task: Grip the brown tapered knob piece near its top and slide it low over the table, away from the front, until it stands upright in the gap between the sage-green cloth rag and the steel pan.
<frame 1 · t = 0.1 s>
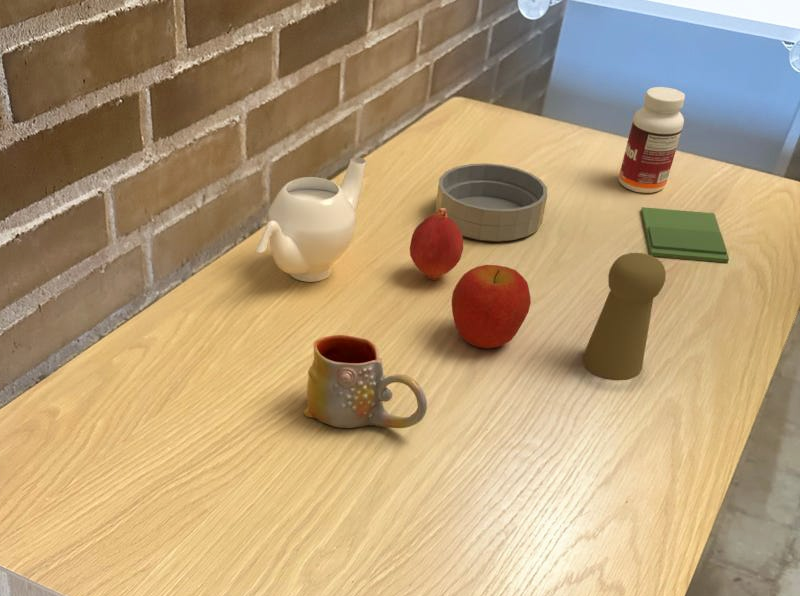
pan: (487, 219, 119), on the table
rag: (682, 236, 118), on the table
mug: (364, 422, 91), on the table
apple: (484, 342, 101), on the table
pill bottle: (640, 185, 128), on the table
brown tapered knob piece: (611, 364, 99), on the table
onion: (432, 280, 109), on the table
teapot: (310, 273, 109), on the table
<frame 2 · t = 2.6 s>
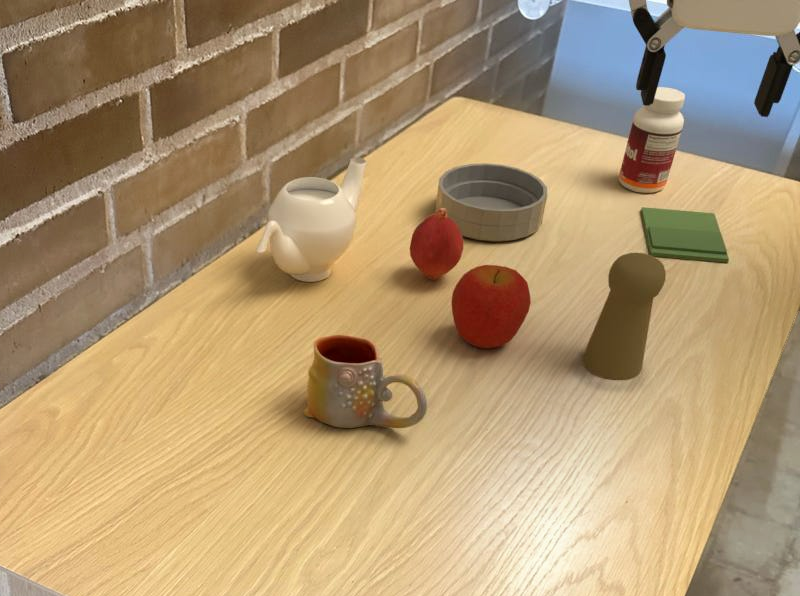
hand: (703, 105, 82), 24 cm above the table, tool pointing down, fingers open, 9 cm apart
nothing on the table moved.
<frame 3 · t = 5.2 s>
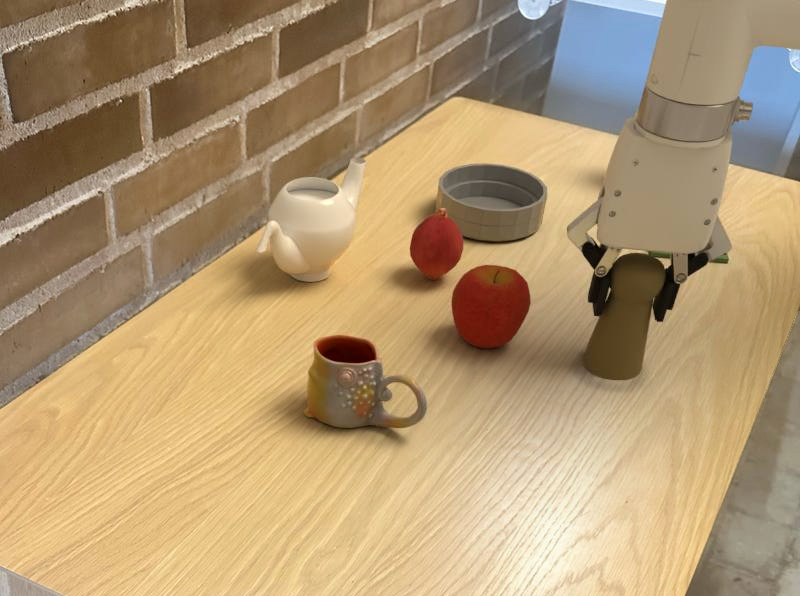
hand: (627, 310, 94), 6 cm above the table, tool pointing down, fingers closed on brown tapered knob piece, 5 cm apart
brown tapered knob piece: (611, 364, 99), on the table, touching gripper
everything else where it was.
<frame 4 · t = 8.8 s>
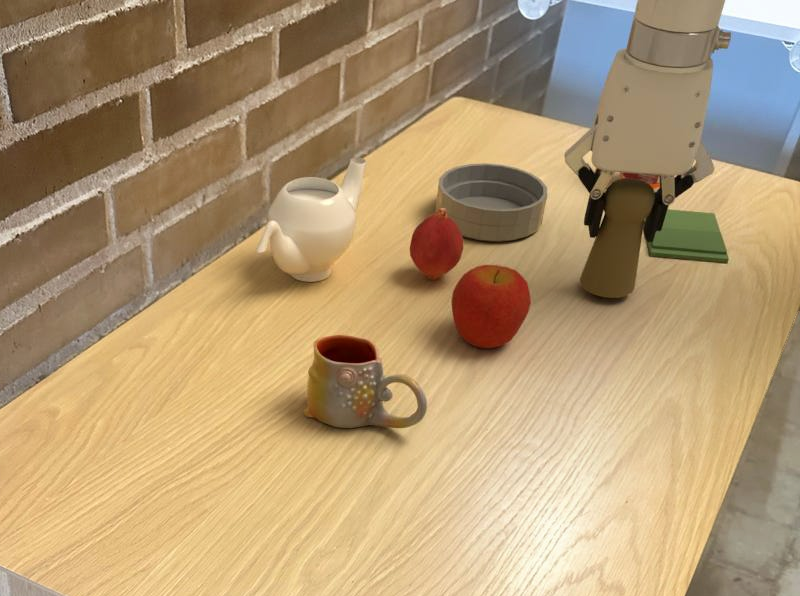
hand: (620, 232, 103), 7 cm above the table, tool pointing down, fingers closed on brown tapered knob piece, 5 cm apart
brown tapered knob piece: (606, 285, 108), point 1 cm above the table, touching gripper
everything else where it was.
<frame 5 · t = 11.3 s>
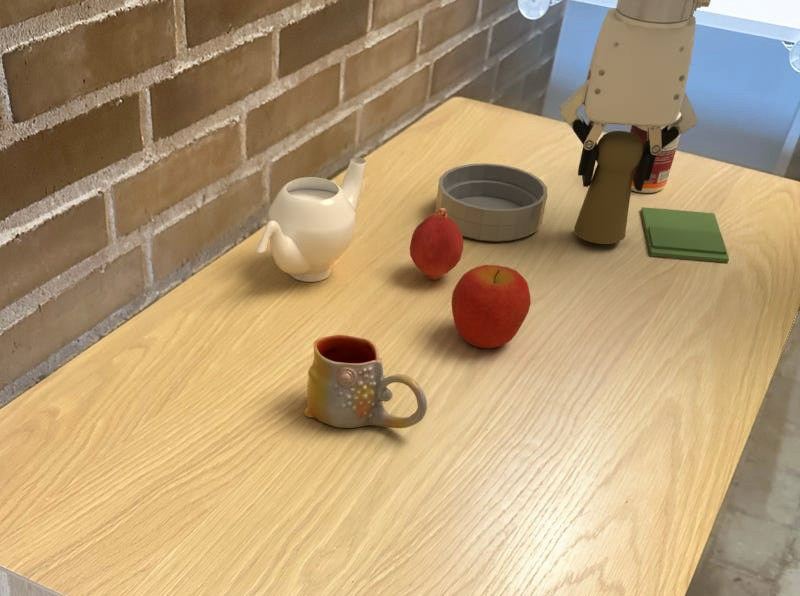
hand: (611, 182, 111), 7 cm above the table, tool pointing down, fingers closed on brown tapered knob piece, 5 cm apart
brown tapered knob piece: (599, 233, 116), point 1 cm above the table, touching gripper
everything else where it was.
when the fingers open (6 cm above the table, at t = 12.7 s): brown tapered knob piece stays where it is, on the table.
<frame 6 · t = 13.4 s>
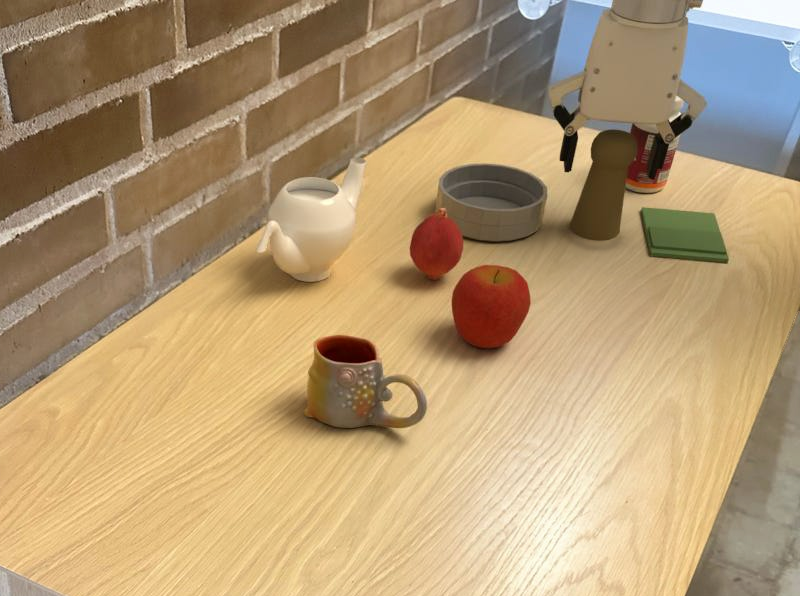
hand: (608, 171, 113), 7 cm above the table, tool pointing down, fingers open, 9 cm apart
brown tapered knob piece: (594, 229, 119), on the table
everything else where it was.
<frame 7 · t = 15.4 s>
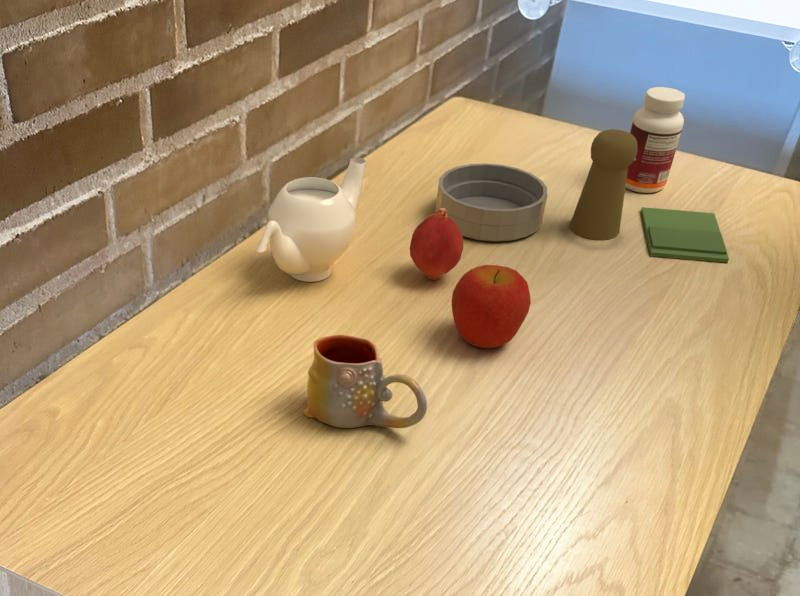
nothing on the table moved.
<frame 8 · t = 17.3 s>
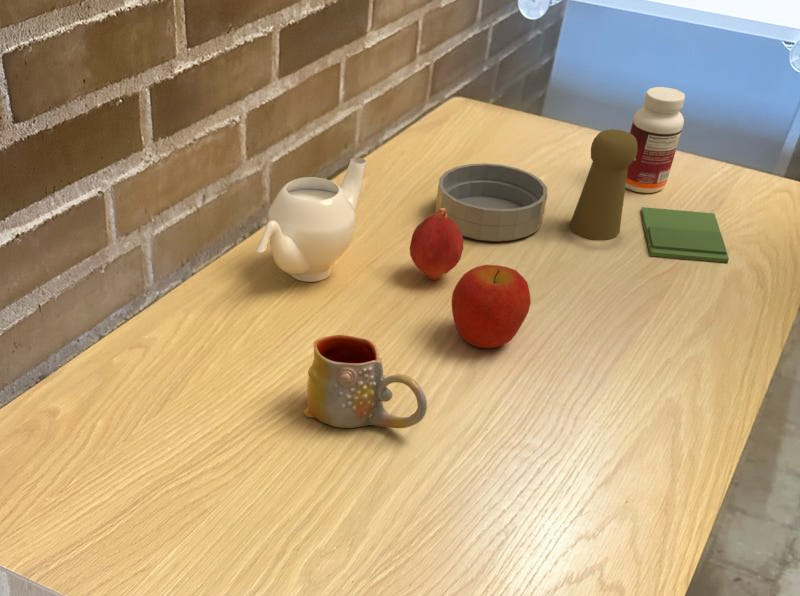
nothing on the table moved.
at the end: brown tapered knob piece 0.1 cm from the target spot on the table beside the pan, on the table; brown tapered knob piece tilted 0°; brown tapered knob piece moved 30.0 cm from its start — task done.
